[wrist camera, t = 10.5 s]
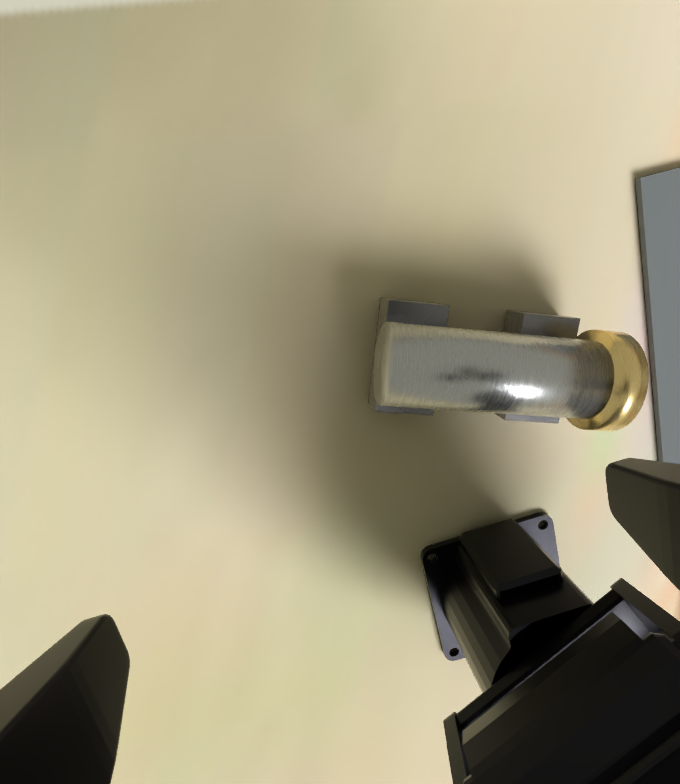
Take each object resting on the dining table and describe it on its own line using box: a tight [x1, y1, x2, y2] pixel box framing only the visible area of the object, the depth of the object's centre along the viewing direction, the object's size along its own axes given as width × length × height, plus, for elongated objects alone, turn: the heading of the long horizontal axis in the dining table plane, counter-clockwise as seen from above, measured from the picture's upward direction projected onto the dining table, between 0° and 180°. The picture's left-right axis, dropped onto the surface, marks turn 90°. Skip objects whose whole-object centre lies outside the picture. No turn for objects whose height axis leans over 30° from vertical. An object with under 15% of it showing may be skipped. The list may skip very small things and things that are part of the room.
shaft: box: [369, 298, 649, 431], centre depth 19 cm, size 9×4×5 cm, turn 84°
